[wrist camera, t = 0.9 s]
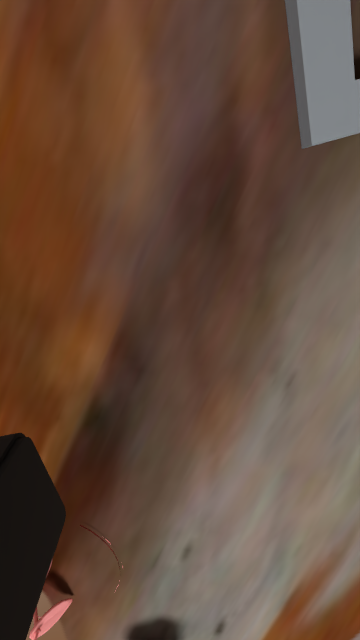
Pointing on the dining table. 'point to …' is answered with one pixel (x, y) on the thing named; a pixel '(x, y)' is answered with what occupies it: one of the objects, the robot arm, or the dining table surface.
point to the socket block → (323, 69)
